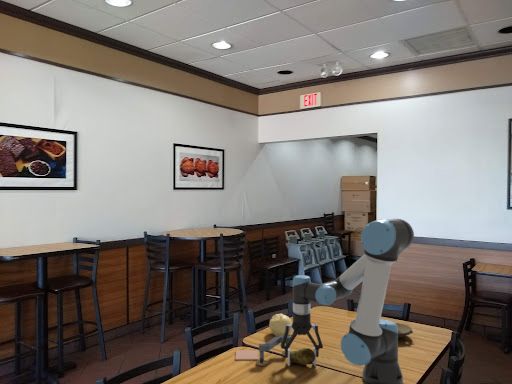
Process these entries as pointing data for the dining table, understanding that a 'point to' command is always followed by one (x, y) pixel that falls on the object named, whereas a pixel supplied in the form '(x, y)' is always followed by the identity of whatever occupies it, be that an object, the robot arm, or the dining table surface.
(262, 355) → the rail
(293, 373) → the dining table surface
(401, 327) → the oil lamp
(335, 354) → the dining table surface
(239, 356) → the plate
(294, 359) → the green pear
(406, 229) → the robot arm
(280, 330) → the cream lumpy ball
